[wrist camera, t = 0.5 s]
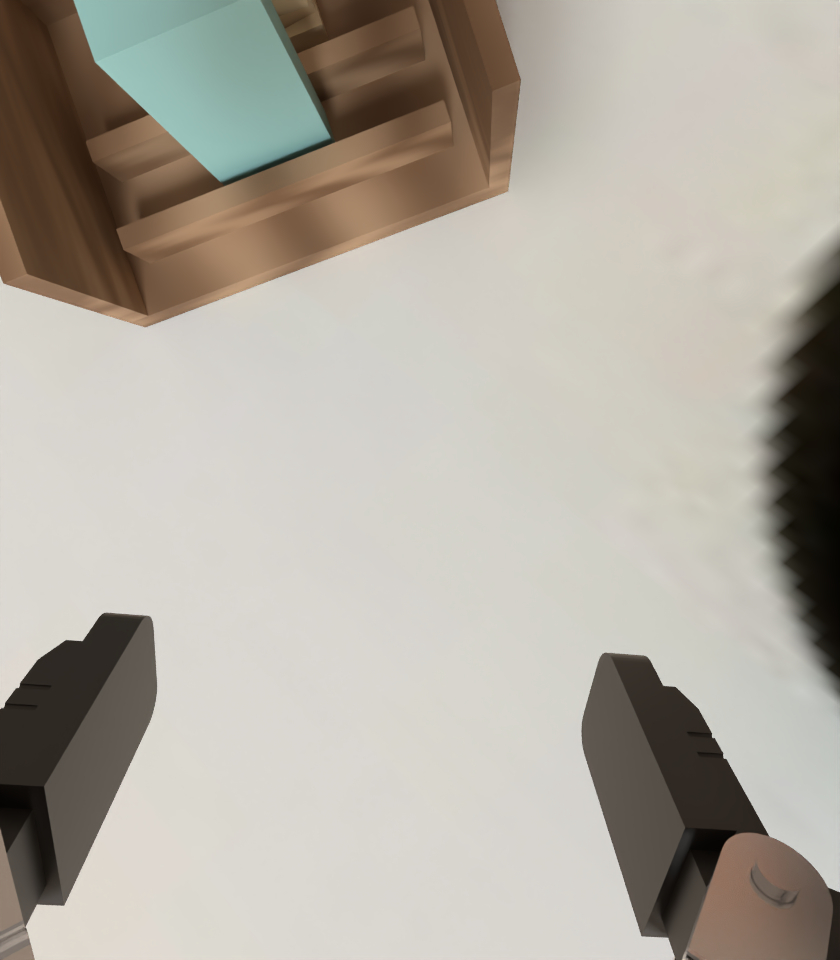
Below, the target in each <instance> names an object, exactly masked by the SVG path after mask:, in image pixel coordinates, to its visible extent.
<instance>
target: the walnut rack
mask: <svg viewBox="0 0 840 960" xmlns="http://www.w3.org/2000/svg"><path fill="white" fill-rule="evenodd" d="M316 3H317V6H318V9H319V12H320V15H321V18H322V21H323V24H324V27H325V30H326V33H327V36H328V39H329V41H327V42H324V43H322V44H319V45H317V46H315V47H312V48H310V49H307V50H305V51H302V52H300V53H298V54H297V55H298V57H299V59H300V61H301V63H302V65H303V67H304V69H305V71H306V73H307V75H308V77H309V79H310V81H311V83H312V86H313V88H314V90H315V92H316V94H317V96H318V98H319V100H320V102H321V104H322V106H323V108H324V110H325V112H326V115H327V118H328V121H329V124H330V127H331V130H332V133H333V136H334V139H335V143H333V144H330V145H328V146H325V147H323V148H320V149H318V150H315V151H313V152H310V153H307V154H305V155H302V156H300V157H297V158H295V159H292V160H290V161H287V162H285V163H282V164H280V165H277V166H275V167H272V168H270V169H267V170H264V171H262V172H259V173H257V174H254V175H252V176H249V177H247V178H244V179H242V180H239V181H237V182H234V183H232V184H229V185H226V186H224V185H223V184H222V183H221V182H220V181H219V180H218V179H217V178H216V177H215V176H214V175H212V174H211V173H210V172H209V171H208V170H207V169H206V168H205V167H204V166H203V165H202V164H201V163H200V162H199V161H198V160H197V159H196V158H195V157H194V156H193V155H192V154H191V153H189V152H188V151H187V150H186V149H185V148H184V147H183V146H182V145H181V144H180V143H179V142H178V141H177V140H176V139H175V138H174V137H173V136H172V135H171V134H170V133H169V132H168V131H166V130H165V129H164V128H163V127H162V126H161V125H160V124H159V123H158V122H157V121H156V120H155V119H154V118H153V117H152V116H151V115H150V114H149V113H148V112H147V111H146V110H145V109H143V108H142V107H141V106H140V105H139V104H138V103H137V102H136V101H135V100H134V99H133V98H132V97H131V96H130V95H129V94H128V93H127V92H126V91H125V90H124V89H123V88H122V87H120V86H119V85H118V84H117V83H116V82H115V81H114V80H113V79H112V78H111V77H110V76H109V75H108V74H107V73H106V72H105V71H104V70H103V69H102V68H101V67H100V66H99V65H97V64H96V63H95V61H94V58H93V55H92V52H91V49H90V46H89V43H88V41H87V38H86V35H85V32H84V29H83V26H82V23H81V20H80V17H79V15H78V12H77V9H76V6H75V3H74V0H0V276H1V278H2V281H3V283H4V284H7V285H10V286H13V287H17V288H20V289H23V290H26V291H30V292H33V293H36V294H39V295H42V296H46V297H49V298H52V299H55V300H59V301H62V302H65V303H68V304H72V305H75V306H78V307H81V308H85V309H88V310H91V311H94V312H97V313H101V314H104V315H107V316H110V317H114V318H117V319H120V320H123V321H127V322H130V323H133V324H136V325H140V326H143V327H147V326H150V325H153V324H155V323H158V322H161V321H163V320H166V319H169V318H171V317H174V316H177V315H179V314H182V313H185V312H187V311H190V310H193V309H195V308H198V307H201V306H203V305H206V304H209V303H211V302H214V301H217V300H219V299H222V298H225V297H227V296H230V295H233V294H235V293H238V292H241V291H243V290H246V289H249V288H251V287H254V286H257V285H259V284H262V283H265V282H267V281H270V280H273V279H275V278H278V277H281V276H283V275H286V274H289V273H291V272H294V271H297V270H299V269H302V268H305V267H307V266H310V265H313V264H315V263H318V262H321V261H323V260H326V259H329V258H331V257H334V256H337V255H339V254H342V253H345V252H347V251H350V250H353V249H355V248H358V247H361V246H363V245H366V244H369V243H371V242H374V241H377V240H379V239H382V238H385V237H387V236H390V235H393V234H395V233H398V232H401V231H403V230H406V229H409V228H411V227H414V226H417V225H419V224H422V223H425V222H427V221H430V220H433V219H435V218H438V217H441V216H443V215H446V214H449V213H451V212H454V211H457V210H459V209H462V208H465V207H467V206H470V205H473V204H475V203H478V202H481V201H483V200H486V199H489V198H491V197H494V196H497V195H499V194H502V193H505V192H507V191H508V187H509V178H510V170H511V161H512V152H513V144H514V135H515V126H516V117H517V109H518V100H519V91H520V83H521V79H520V76H519V73H518V70H517V66H516V63H515V60H514V57H513V54H512V51H511V48H510V45H509V41H508V38H507V35H506V32H505V29H504V26H503V23H502V20H501V16H500V13H499V10H498V7H497V4H496V1H495V0H316Z"/></svg>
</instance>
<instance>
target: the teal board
mask: <svg viewBox="0 0 840 960" xmlns="http://www.w3.org/2000/svg"><path fill="white" fill-rule="evenodd" d="M74 3H75V6H76V9H77V12H78V15H79V17H80V20H81V23H82V26H83V29H84V32H85V35H86V38H87V41H88V43H89V46H90V49H91V52H92V55H93V58H94V61H95V63H96V64H97V65H99V66H100V67H101V68H102V69H103V70H104V71H105V72H106V73H107V74H108V75H109V76H110V77H111V78H112V79H113V80H114V81H115V82H116V83H117V84H118V85H119V86H120V87H122V88H123V89H124V90H125V91H126V92H127V93H128V94H129V95H130V96H131V97H132V98H133V99H134V100H135V101H136V102H137V103H138V104H139V105H140V106H141V107H142V108H143V109H145V110H146V111H147V112H148V113H149V114H150V115H151V116H152V117H153V118H154V119H155V120H156V121H157V122H158V123H159V124H160V125H161V126H162V127H163V128H164V129H165V130H166V131H168V132H169V133H170V134H171V135H172V136H173V137H174V138H175V139H176V140H177V141H178V142H179V143H180V144H181V145H182V146H183V147H184V148H185V149H186V150H187V151H188V152H189V153H191V154H192V155H193V156H194V157H195V158H196V159H197V160H198V161H199V162H200V163H201V164H202V165H203V166H204V167H205V168H206V169H207V170H208V171H209V172H210V173H211V174H212V175H214V176H215V177H216V178H217V179H218V180H219V181H220V182H221V183H222V184H223V185H224V186H226V185H229V184H232V183H234V182H237V181H239V180H242V179H244V178H247V177H249V176H252V175H254V174H257V173H259V172H262V171H264V170H267V169H270V168H272V167H275V166H277V165H280V164H282V163H285V162H287V161H290V160H292V159H295V158H297V157H300V156H302V155H305V154H307V153H310V152H313V151H315V150H318V149H320V148H323V147H325V146H328V145H330V144H333V143H335V139H334V136H333V133H332V130H331V127H330V124H329V121H328V118H327V115H326V112H325V110H324V108H323V106H322V104H321V102H320V100H319V98H318V96H317V94H316V92H315V90H314V88H313V86H312V83H311V81H310V79H309V77H308V75H307V73H306V71H305V69H304V67H303V65H302V63H301V61H300V59H299V57H298V55H297V53H296V51H295V49H294V46H293V44H292V42H291V40H290V38H289V36H288V34H287V32H286V30H285V28H284V26H283V24H282V22H281V20H280V18H279V16H278V14H277V12H276V9H275V7H274V5H273V3H272V1H271V0H74Z"/></svg>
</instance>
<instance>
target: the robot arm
mask: <svg viewBox="0 0 840 960" xmlns="http://www.w3.org/2000/svg"><path fill="white" fill-rule="evenodd" d="M156 694H157V676H156V661H155V645H154V630H153V622H152V619H151V617H149V616H142V615H129V614H116V613H104V614H102V615H101V616H100V617H99V618H98V620H97V621H96V623H95V624H94V626H93V627H92V628H91V630H90V631H89V633H88V634H87V636H86V637H85V639H84V640H83V641H71V640H66V641H64V642H63V643H61V644H60V645H59V646H57V647H56V648H54V649H53V650H51V651H50V652H48V653H47V654H45V655H44V656H43V657H41V658H40V659H38V660H37V662H36V663H35V664H34V666H33V667H32V668H31V670H30V671H29V672H28V674H27V675H26V676H25V678H24V679H23V680H22V681H21V683H20V687H19V688H16V689H15V691H14V692H13V693H12V695H11V696H10V697H9V699H8V700H7V701H6V703H5V707H4V708H1V709H0V960H35V959H34V955H33V952H32V948H31V944H30V940H29V936H28V932H27V929H26V928H25V927H26V925H27V923H28V921H29V919H30V917H31V915H32V913H33V911H34V909H35V907H36V905H37V904H40V905H61V906H64V905H65V903H66V900H67V898H68V896H69V894H70V892H71V890H72V888H73V885H74V883H75V881H76V879H77V877H78V875H79V873H80V870H81V868H82V866H83V864H84V862H85V860H86V858H87V855H88V853H89V851H90V849H91V847H92V845H93V843H94V840H95V838H96V836H97V834H98V832H99V830H100V828H101V825H102V823H103V821H104V819H105V817H106V815H107V813H108V810H109V808H110V806H111V804H112V802H113V800H114V798H115V795H116V793H117V791H118V789H119V787H120V785H121V782H122V780H123V778H124V776H125V774H126V772H127V770H128V767H129V765H130V763H131V761H132V759H133V757H134V755H135V752H136V750H137V748H138V746H139V744H140V742H141V740H142V737H143V735H144V733H145V731H146V729H147V727H148V725H149V722H150V720H151V717H152V714H153V710H154V706H155V701H156ZM582 744H583V750H584V754H585V757H586V761H587V764H588V767H589V770H590V773H591V777H592V780H593V783H594V786H595V789H596V792H597V796H598V799H599V802H600V805H601V808H602V812H603V815H604V818H605V821H606V824H607V827H608V831H609V834H610V837H611V840H612V843H613V847H614V850H615V853H616V856H617V859H618V862H619V866H620V869H621V872H622V875H623V878H624V882H625V885H626V888H627V891H628V894H629V897H630V901H631V904H632V907H633V910H634V913H635V917H636V920H637V923H638V926H639V929H640V932H641V936H646V937H667V938H669V941H670V944H671V947H672V950H673V953H674V955H675V957H674V959H673V960H840V892H837V891H835V890H832V889H830V888H828V887H827V885H826V884H825V882H824V880H823V878H822V877H821V876H820V874H819V873H818V872H817V870H816V869H815V868H814V867H813V866H812V865H811V864H810V863H809V862H808V861H807V860H806V859H805V858H804V857H803V856H802V855H800V854H799V853H798V852H796V851H795V850H794V849H792V848H791V847H789V846H788V845H786V844H784V843H782V842H780V841H778V840H776V839H774V838H771V837H769V835H768V833H767V832H766V830H765V828H764V826H763V824H762V823H761V821H760V819H759V817H758V815H757V814H756V812H755V810H754V808H753V806H752V805H751V803H750V801H749V799H748V797H747V796H746V794H745V792H744V790H743V788H742V787H741V785H740V783H739V781H738V779H737V778H736V776H735V774H734V772H733V770H732V769H731V767H730V765H729V763H728V761H727V760H726V759H724V758H723V752H722V751H721V749H720V747H719V745H718V743H717V742H716V740H715V738H712V733H711V731H710V729H709V727H708V725H707V724H706V722H705V720H704V718H703V716H702V715H701V713H700V711H699V709H698V708H697V707H696V706H695V705H694V704H693V703H692V702H691V701H690V700H689V699H687V698H686V697H685V696H684V695H683V694H682V693H681V692H680V691H679V690H678V689H677V688H676V687H669V686H663V685H662V683H661V681H660V679H659V677H658V675H657V673H656V671H655V669H654V667H653V665H652V663H651V661H650V660H649V659H648V657H646V656H641V655H628V654H615V653H604V654H602V656H601V657H600V659H599V662H598V665H597V669H596V672H595V676H594V679H593V683H592V686H591V690H590V694H589V697H588V701H587V704H586V708H585V711H584V715H583V720H582Z"/></svg>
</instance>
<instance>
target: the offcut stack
mask: <svg viewBox="0 0 840 960" xmlns="http://www.w3.org/2000/svg"><path fill="white" fill-rule="evenodd" d="M271 1H272V3H273V5H274V7H275V9H276V12H277V14H278V16H279V18H280V20H281V22H282V24H283V26H284V28H285V30H286V32H287V34H288V36H289V38H290V40H291V42H292V44H293V46H294V49H295V51H296V53H297V54H298V53H300V52H302V51H305V50H307V49H310V48H312V47H315V46H317V45H319V44H322V43H324V42H327V41H329V39H328V36H327V33H326V30H325V27H324V24H323V21H322V18H321V15H320V12H319V9H318V6H317V3H316V0H271Z"/></svg>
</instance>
